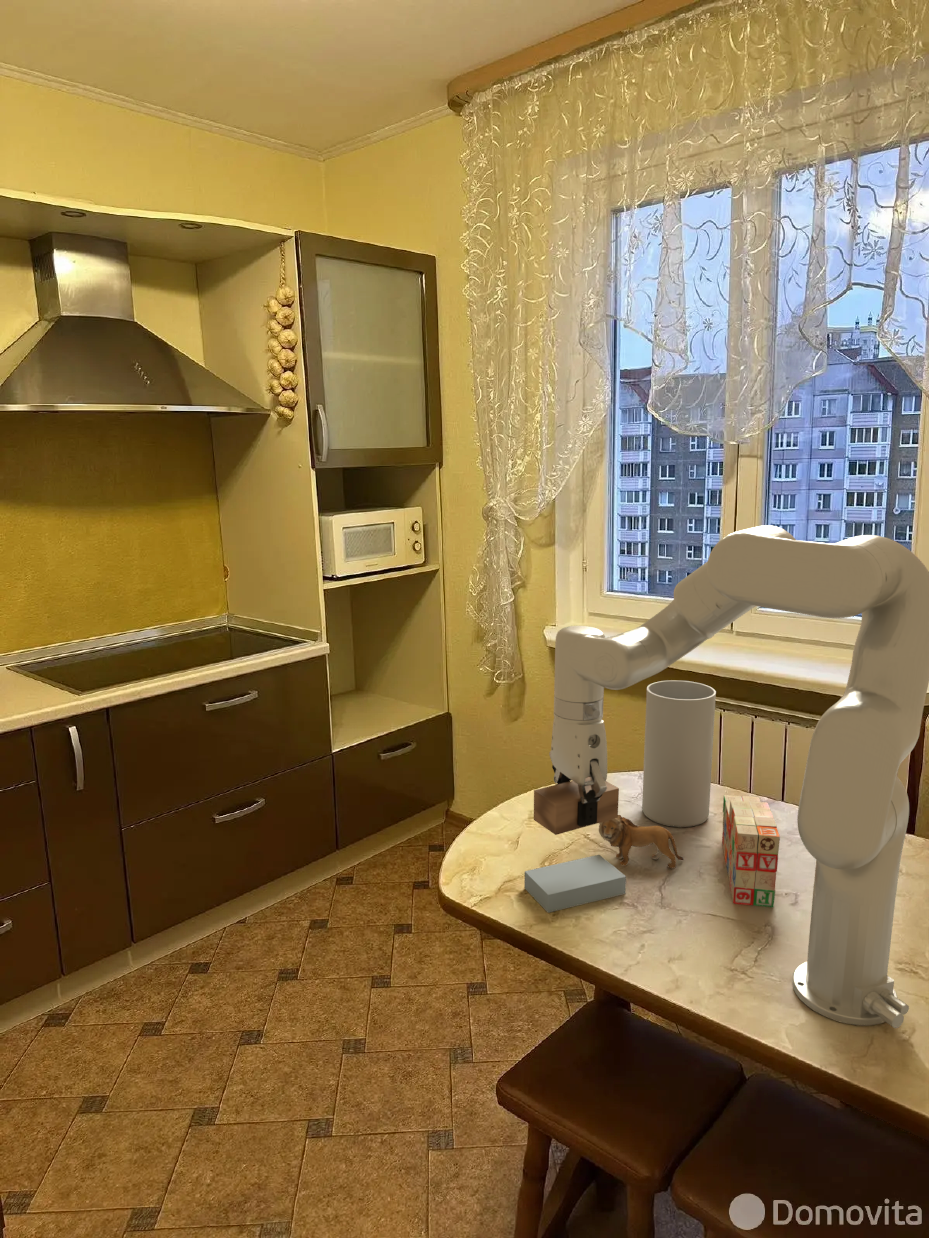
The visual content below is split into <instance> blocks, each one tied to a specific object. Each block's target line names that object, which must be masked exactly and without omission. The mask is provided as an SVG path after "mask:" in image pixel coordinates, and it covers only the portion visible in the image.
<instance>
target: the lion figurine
mask: <svg viewBox="0 0 929 1238" xmlns="http://www.w3.org/2000/svg"><path fill="white" fill-rule="evenodd" d="M598 824H599V825H598V832H599V833H598V834H599V836H600V837H601V838H602V839H603V840H604V841H607V842H608V843H609V844H610V846H612V847H615V848H618V850H619V851H618V852H619V853H616V854H615V857H616V858H617V859H622V860H620V862H619V865H621V866H623V867H626V866H627V865H628V864H629V861H630V860H629V859H630V858H629V857H630V856H629V855H630V851H631V848H632V847H635V848H646V847H649V846H651V845H653V844H654V845H655V846H656V849H657V852H656V853H655V854H652V855H651V857H650V858H651V859H652V860H658V859H660V858H661V857H662V855H663V856H666V857H667V858H668V859H669V860H670V862H668V863H667V867H668V868H669V869H675V868H676V866H677V860H678V861H684V857H683V856H681V855H679V854H678V849H677V844H676V841H675V838H674V836H673V835H672V833H671V832H670V831H669V830H668V829H667V828H665V827H662V826H660V825H649V826H641V825H636V824H635V823H634V822H633V821H632V820H630V819H629V818H626V817H623V816H622V815H621V814H618V818H615V819H611V820H608V821H604V822H601V823H598ZM669 841H670V842H669ZM669 843H670V844H671V847H672V849H671V848H670V844H669ZM672 850H673V851H672ZM676 859H677V860H676Z"/></svg>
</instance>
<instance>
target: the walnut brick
mask: <svg viewBox="0 0 929 1238" xmlns="http://www.w3.org/2000/svg"><path fill="white" fill-rule="evenodd" d="M586 781H591V779H590V777H587V778H585V782H586ZM605 783H606V786H607V790H606V791H605V792H604V793H603V794H602V796H601V797H600V800H599V801H598V806H597V823H596V824H599V823H601V822H604V821H608V820H611V819H615V818H618V815H619V796H620V795H619V794H620V788H619V787H617V786H615V785H614V784H613V783H610V782H609V781H607V780H606V781H605ZM556 784H557V783H556ZM585 790H586V794H587V793H588V792H589V791H590V790H592V789H591V785H588V786H585ZM579 801H581V800H580V794H579V789H578V784H577V783H575V782H574V781H572V780H571V781H570V782H566V783H561V784H557V785H555V784H553V785H550V786H546V787H543V788H538V789H534V790H533V820H534V821H535V822H536V823H537V824H539V825H540V826H542V827H543V828H545V829H546V830H548V831H549V832H551V833H552V834H554V835H555V836H558V835H561V834H565V833H568V832H571V831H575V830H578V829H583V828H586V827H589V826H591V825H588V826H583V827H580V826H578V824H577V817H578V802H579ZM596 824H595V825H596Z"/></svg>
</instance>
